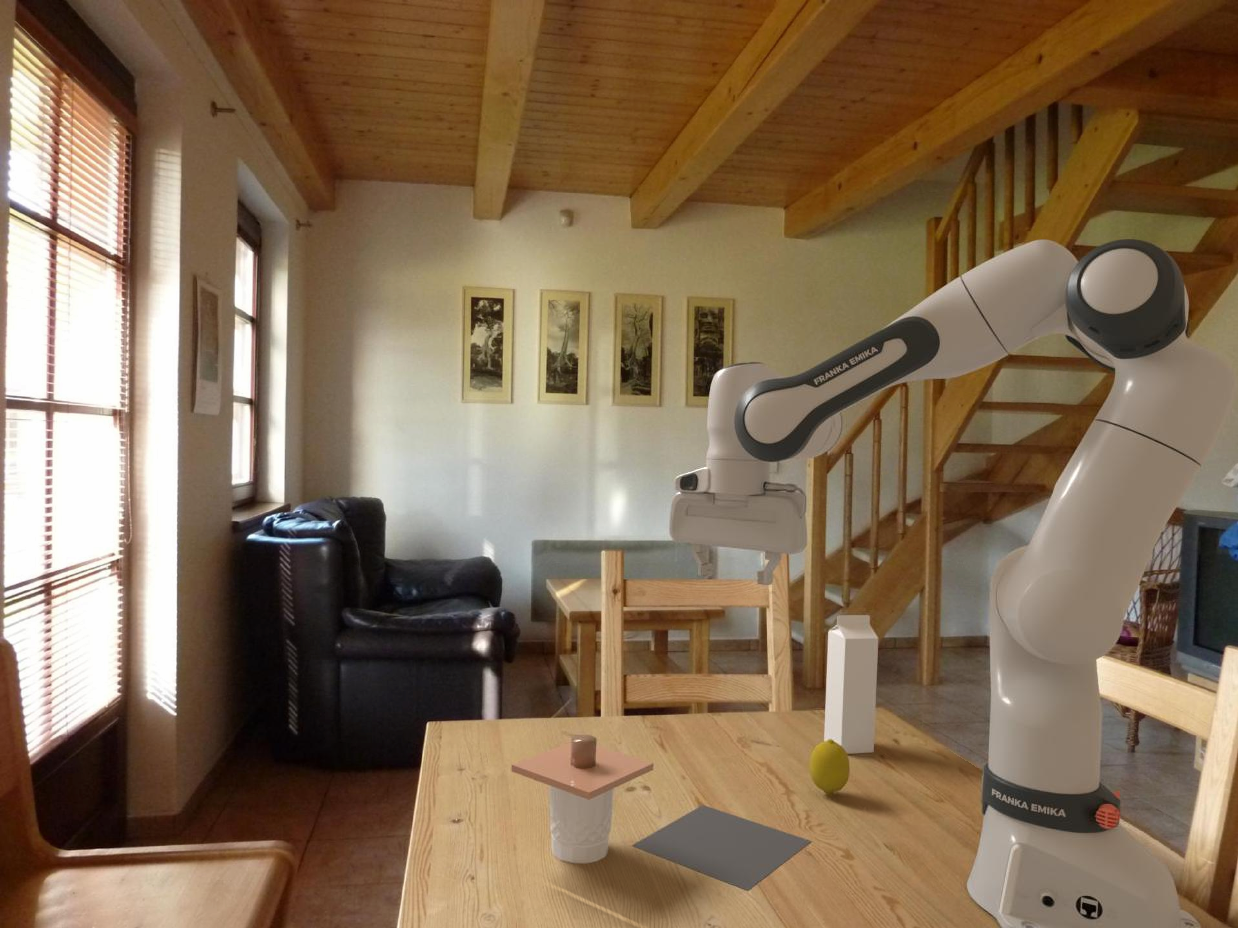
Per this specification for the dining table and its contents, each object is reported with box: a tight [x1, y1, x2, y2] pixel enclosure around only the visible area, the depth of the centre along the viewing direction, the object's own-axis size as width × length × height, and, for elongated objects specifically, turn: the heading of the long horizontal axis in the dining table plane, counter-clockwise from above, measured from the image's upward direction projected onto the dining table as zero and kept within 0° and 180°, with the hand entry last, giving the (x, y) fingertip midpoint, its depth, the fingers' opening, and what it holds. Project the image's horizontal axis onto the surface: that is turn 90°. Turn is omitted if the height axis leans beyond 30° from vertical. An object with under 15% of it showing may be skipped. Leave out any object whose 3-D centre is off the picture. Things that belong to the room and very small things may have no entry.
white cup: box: [549, 785, 615, 864], centre depth 104 cm, size 8×8×10 cm
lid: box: [510, 734, 654, 800], centre depth 104 cm, size 12×12×4 cm
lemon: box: [809, 739, 851, 796], centre depth 124 cm, size 6×6×8 cm
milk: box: [823, 614, 879, 755], centre depth 144 cm, size 6×6×22 cm
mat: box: [631, 804, 812, 892], centre depth 107 cm, size 16×16×1 cm
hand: (734, 580), depth 121 cm, fingers open, 8 cm apart
